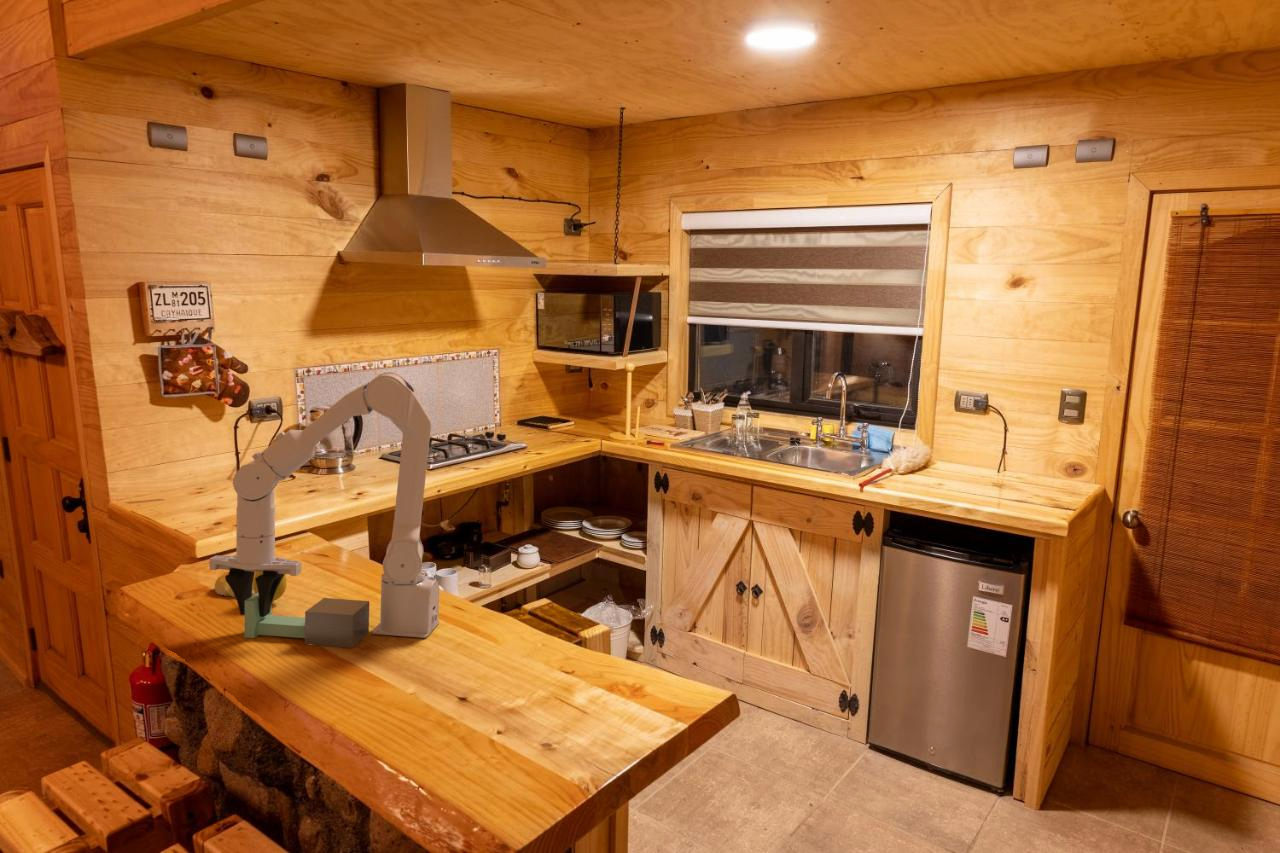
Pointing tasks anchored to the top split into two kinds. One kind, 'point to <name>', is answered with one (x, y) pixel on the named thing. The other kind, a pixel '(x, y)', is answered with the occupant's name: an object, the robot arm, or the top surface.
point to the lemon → (279, 590)
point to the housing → (337, 622)
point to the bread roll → (226, 586)
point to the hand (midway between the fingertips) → (255, 614)
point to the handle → (270, 622)
